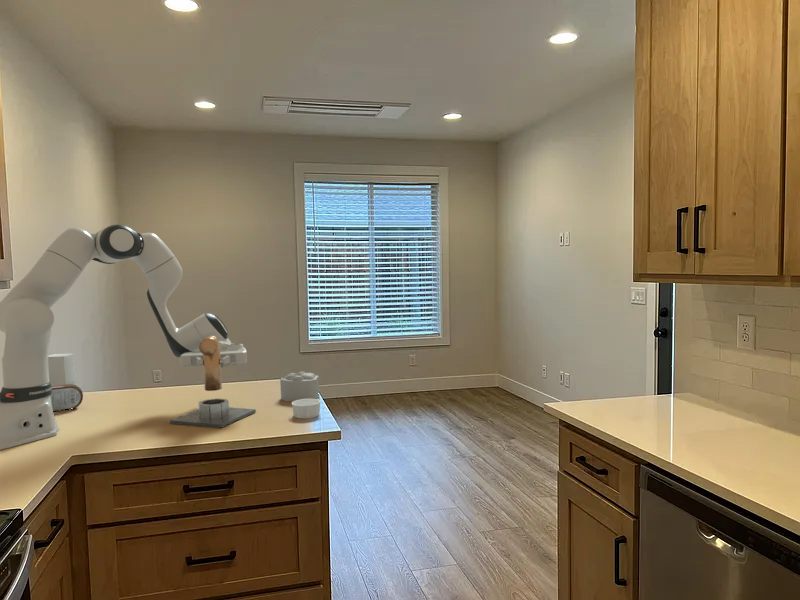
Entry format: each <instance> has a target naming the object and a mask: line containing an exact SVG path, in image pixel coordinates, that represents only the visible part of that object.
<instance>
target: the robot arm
mask: <svg viewBox="0 0 800 600" xmlns="http://www.w3.org/2000/svg"><path fill="white" fill-rule="evenodd" d="M124 260H131V261H132V262H134V264H136V265H137V266H138V267H139V268H140V270H141V272H142V273H143V275H144V276H145V278H146V281H147V282H148V289H147V291H146V296H147V300H148V303H149V305H150V307H151V310H152V311H153V314H154V316H155V318H156V321H157V322H158V324H159V327H160V328H161V331H162V332H163V334H164V337H165V339H166V342H167V344H168V348H169V349H170V352H171V353H172V354H173V355H174V356H175V357H176V358H179V363H180V366H181V367H198V366H200V367H201V366H204V365H203V354H202V353H201V352H200V349H199V345H200V343H201V342H202V341H203V340H204V339H205V338H206V337H208V336H215V337H217V338H218V340H219V342H220V361H221V362H220V364H221V369H222V368H227V367H229V366H235V365H243V364H247V363H248V354H247V353H248V352H247V348H246V347H244V344H243V343H232V341H231V340H230V338H228V336H229V335H228V333H229V332H228V329H227V327H226V326H225V323H224V322H223V321H222V320H221V319H220V318H219V316H217V315H215V314H213V313H209V312H204V313H203V314H200V315H199V316H198V317H196V318H194V319H192V320H191V321H190V322H188V323H186V324H185V325H183V326H181V327H177V326H176V324H175V322H174V320H173V318H172V316H171V313H170V311H169V310H168V307H167V306H168V305H167V304H168V303H167V302H168V301H169V300H168V299H170V296H171V295H172V294H173V292H174V291H175V290H176V289H177V287H178V286H179V285H180V283H181V281H182V278H183V271H184V270H183V267H182V266H181V264H180V262H179V261H178V259H177V257H176V256H175V254H174V253H173V252H172V251H171V248H170V247H168V246H167V244H166V243H165V242H164V241H163V240H162V239H161V238H160V237H159V235H157V234H156V233H153V232H144V233H139V232H137V231H136V230H134V229H133V228H131V227H128V226H127V225H124V224H111V225H109V226H106V227H104V228H102V229H101V230H99V231H97V232H96V233H91V232H88V231H87V230H85V229H83V228H80V227H70V228H67V229H65V231H63V232H62V233H61V234H60V235H58V236H57V237H56V239H54V240H53V241H52V242H51V244H50V245H49V246H48V247H47V249H46V250H45V251H44V253H42V255H41V257H40V258H39V259H38V261H36V263H35V264H34V265H33V266H32V268H31V270H29V272H28V273H27V274H26V275H25V276H24V277H23V278H22V279H21V280H20V281H19V282H18V283H17V284H15V286H14V287H13V288H12V289H11V290H10V291H9V292H8V293H7V294H6V295H5V297H4V298H3V299H2V300H1V301H0V331H1V332H3V333H4V334H5V339H4V340H5V341H4V350H3V355H2V358H1V366H2V367H1V368H2V381H3V383H2V384H3V386H2V388H1V390H0V451H1V450H5V449H9V448H13V447H16V446H20V445H23V444H28V443H33V442H35V441H39V440H42V439H46V438H50V437H54V436H56V435H58V433H57V432H58V431H59V429H60V427H59V425H58V423H57V421H56V418H55V412H53V408H52V402H51V394H52V387H51V382H50V381H49V368H48V356H49V347H50V341H51V331H52V327H53V324H54V321H55V316H54V312H53V311H52V309H51V308H52V307H53V306H54V305H55V304H56V303H57V301H59V300H60V299H61V298H62V297H64V296H65V295H66V294H67V293H68V292H69V290H70V289H71V287H72V286H73V285H74V283H75V282H76V281H77V280H78V278H79V277H80V275H81V274H82V272H83V271H84V269H85V268H86V266H88V264H89V263H90V262H91V261H95V262H98V263H101V264H106V265H112V264H116V263H120V262H123V261H124Z"/></svg>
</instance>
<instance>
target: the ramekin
mask: <svg viewBox="0 0 800 600" xmlns="http://www.w3.org/2000/svg"><path fill="white" fill-rule="evenodd" d="M320 406H321V400H320V399H319V398H318V399H300V400H296V401H293V402H291V407H292V413H293V414H292V415H293V416H294V418H296V419H301V420H304V419H313V418H316V417H318V416H320V408H321V407H320Z"/></svg>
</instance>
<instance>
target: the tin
mask: <svg viewBox="0 0 800 600" xmlns="http://www.w3.org/2000/svg"><path fill="white" fill-rule="evenodd" d="M51 387H52V394H51V402H52V408H53V411H57V412H60V411H59V410H65V409H71V408H75V409H77V408H78V407H79V406H80V405H81V404H82V402H83V399H84V394H83V393H84V392H83V390H82V389H81V388H80V387H79V386H78V385H77V386H76V385H73V384H67V385H58V386H51ZM65 411H66V410H65Z"/></svg>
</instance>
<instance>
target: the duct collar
mask: <svg viewBox="0 0 800 600" xmlns="http://www.w3.org/2000/svg"><path fill="white" fill-rule="evenodd" d="M256 409H257V408H256ZM256 409H255V408H243V407H230V402H229V400H228V399H227V398H210V399H204V400H201V401H199V402H198V409H196V410H193V411H191V412H188V413H185V414H182V415H180V416H179V417H176V418H173V419H169V424H171V425H179V424H181V425H180V426H190V425H193V426H194V427H202V426H206V427H205V428H213V427H222V428H224V427H223V426H225V425H227V424H229V425H231V424H233V423H235V422H234V421H236V420H238V419H240V420H242V419H244V418H243V417H245V416H247V417H249V416H251V415H253V414H255V412H256V413H257V411H256ZM252 413H253V414H252ZM250 414H251V415H250ZM248 415H249V416H248ZM241 418H242V419H241ZM245 418H246V417H245ZM238 421H239V420H238ZM232 422H233V423H232ZM236 422H237V421H236ZM230 423H231V424H230ZM193 426H192V427H193ZM227 426H228V425H227ZM225 427H226V426H225Z"/></svg>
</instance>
